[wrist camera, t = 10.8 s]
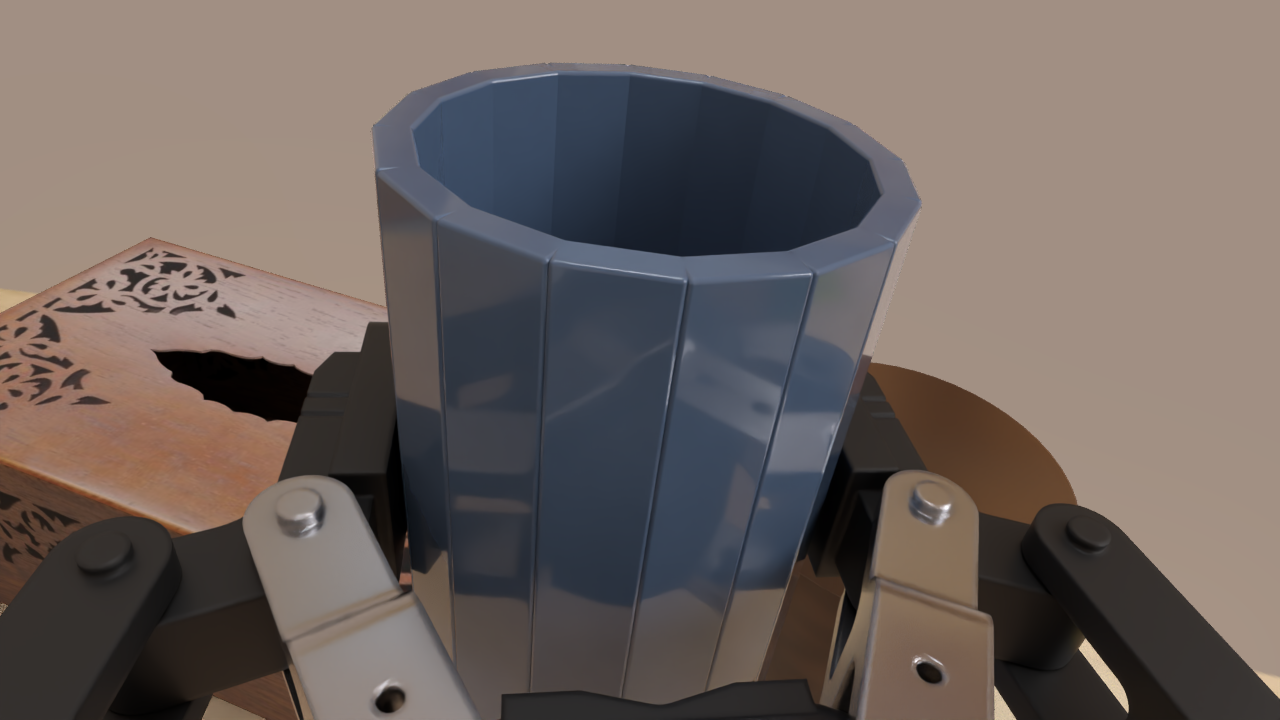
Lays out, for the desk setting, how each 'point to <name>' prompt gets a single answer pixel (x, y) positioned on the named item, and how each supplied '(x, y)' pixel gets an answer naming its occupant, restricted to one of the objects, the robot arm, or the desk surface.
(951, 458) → the stand
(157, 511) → the tissue box cover
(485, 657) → the cup
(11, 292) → the desk surface
